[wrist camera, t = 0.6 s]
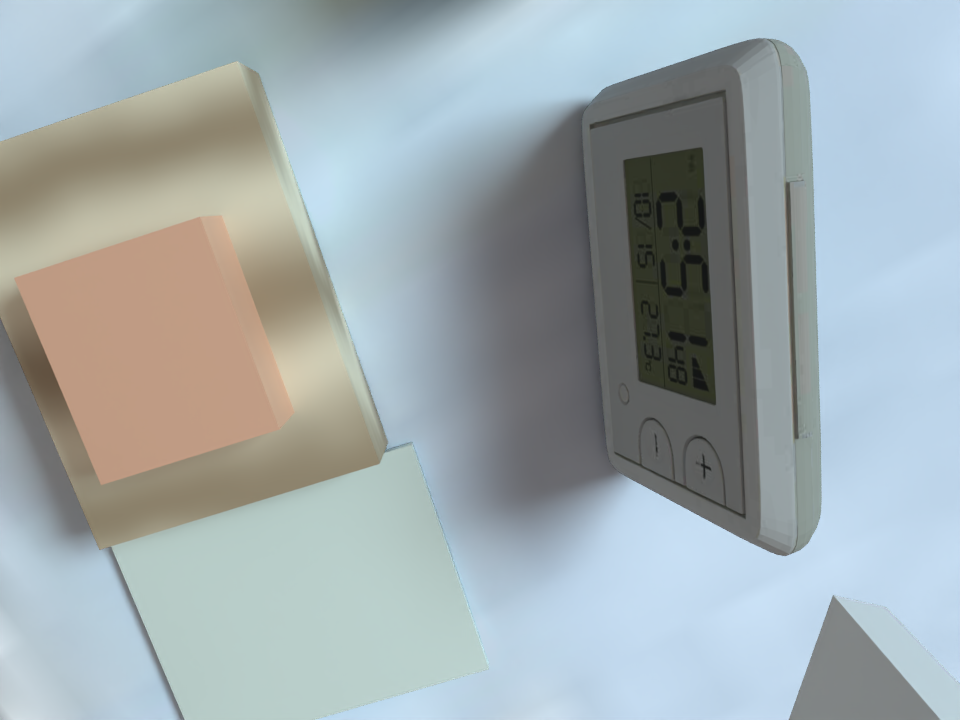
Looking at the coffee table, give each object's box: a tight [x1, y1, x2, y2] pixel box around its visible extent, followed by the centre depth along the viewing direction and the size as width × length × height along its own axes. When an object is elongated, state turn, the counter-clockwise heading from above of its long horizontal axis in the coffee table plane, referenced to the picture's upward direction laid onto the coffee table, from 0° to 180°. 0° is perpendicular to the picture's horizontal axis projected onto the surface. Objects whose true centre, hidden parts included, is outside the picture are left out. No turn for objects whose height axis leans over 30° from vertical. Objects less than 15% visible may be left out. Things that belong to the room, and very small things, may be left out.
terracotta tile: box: [14, 215, 295, 485], centre depth 31 cm, size 8×7×2 cm
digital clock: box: [582, 38, 821, 556], centre depth 30 cm, size 16×9×11 cm, turn 174°
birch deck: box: [0, 61, 388, 550], centre depth 34 cm, size 16×12×3 cm
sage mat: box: [111, 442, 489, 720], centre depth 38 cm, size 11×14×1 cm
